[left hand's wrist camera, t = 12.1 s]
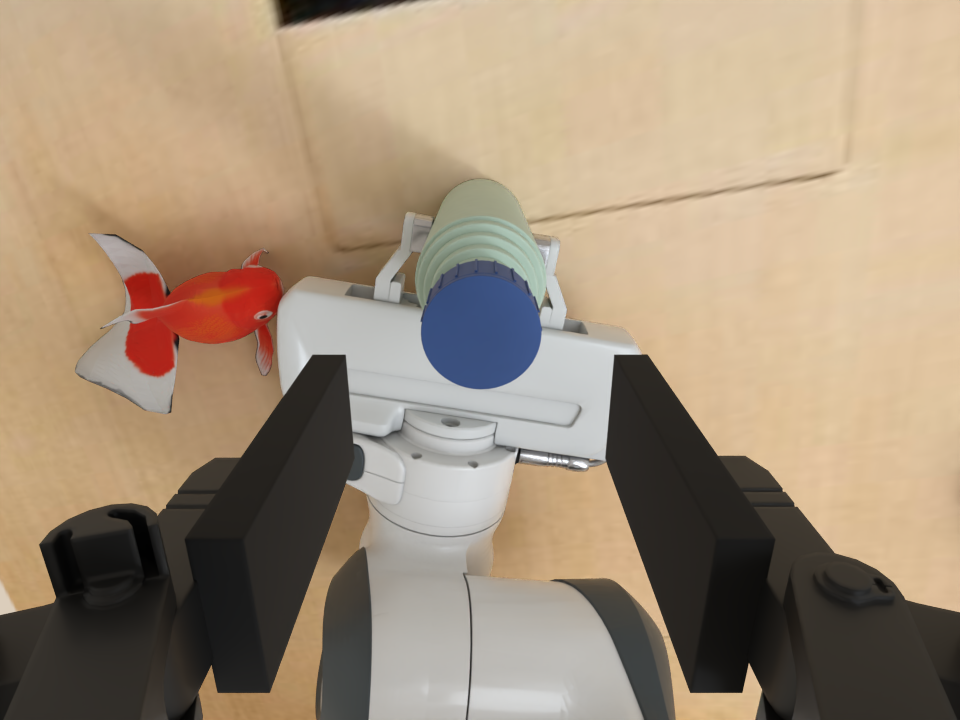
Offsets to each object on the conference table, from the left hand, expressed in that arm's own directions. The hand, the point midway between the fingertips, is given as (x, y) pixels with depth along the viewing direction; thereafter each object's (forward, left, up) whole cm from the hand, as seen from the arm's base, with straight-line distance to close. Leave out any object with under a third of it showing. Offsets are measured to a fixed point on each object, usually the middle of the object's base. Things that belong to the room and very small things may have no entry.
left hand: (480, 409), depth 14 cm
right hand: (-1, 0, -20) cm, 20 cm away
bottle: (0, 0, -26) cm, 26 cm away
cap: (0, 0, -6) cm, 6 cm away
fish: (+13, -14, -26) cm, 33 cm away
